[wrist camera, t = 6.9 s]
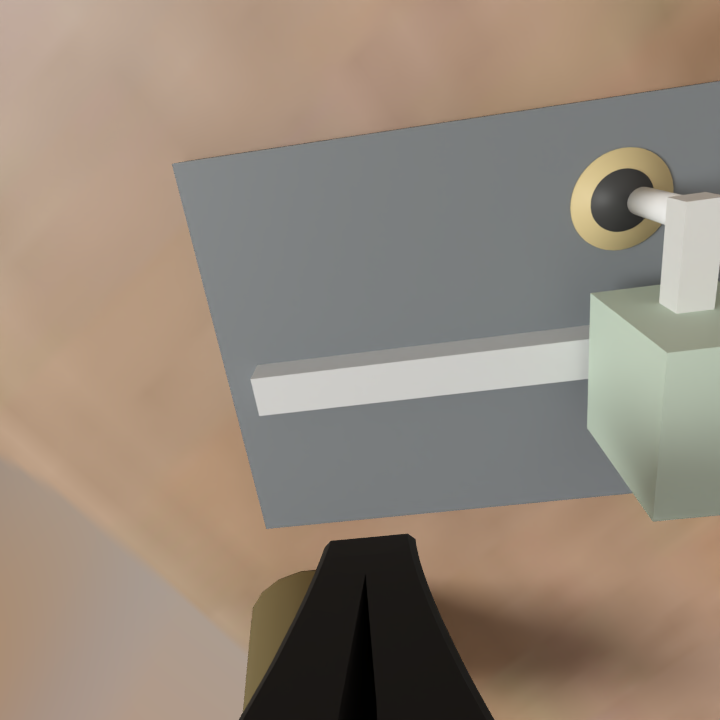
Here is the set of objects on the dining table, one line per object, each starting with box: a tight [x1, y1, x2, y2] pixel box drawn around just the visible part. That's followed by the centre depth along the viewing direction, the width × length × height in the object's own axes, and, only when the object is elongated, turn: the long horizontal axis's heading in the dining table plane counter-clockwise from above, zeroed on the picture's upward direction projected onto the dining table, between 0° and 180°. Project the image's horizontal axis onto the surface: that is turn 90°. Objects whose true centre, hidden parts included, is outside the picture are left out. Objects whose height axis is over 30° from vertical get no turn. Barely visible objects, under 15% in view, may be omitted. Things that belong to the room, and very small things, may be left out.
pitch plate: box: [172, 81, 720, 529], centre depth 14 cm, size 12×22×6 cm, turn 98°
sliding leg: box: [587, 187, 720, 521], centre depth 13 cm, size 6×3×5 cm, turn 8°
